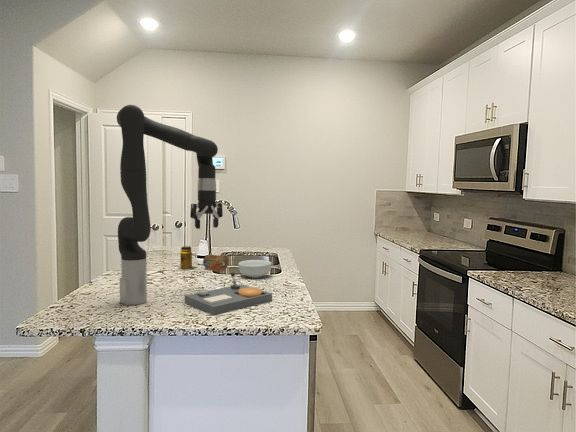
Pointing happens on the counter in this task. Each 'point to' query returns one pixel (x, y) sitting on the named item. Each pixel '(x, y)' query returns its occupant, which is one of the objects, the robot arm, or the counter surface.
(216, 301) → the key
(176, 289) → the counter surface
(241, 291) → the orange button
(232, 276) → the toggle lever
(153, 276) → the counter surface
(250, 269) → the cereal bowl
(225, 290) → the control panel
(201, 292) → the grey button
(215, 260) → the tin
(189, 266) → the condiment
